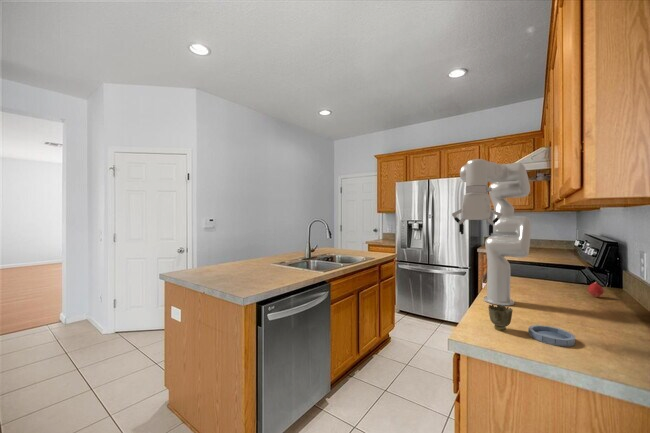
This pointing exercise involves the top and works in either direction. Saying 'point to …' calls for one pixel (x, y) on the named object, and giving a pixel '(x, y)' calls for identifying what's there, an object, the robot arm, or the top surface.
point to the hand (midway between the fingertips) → (475, 234)
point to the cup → (500, 316)
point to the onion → (595, 289)
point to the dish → (552, 335)
